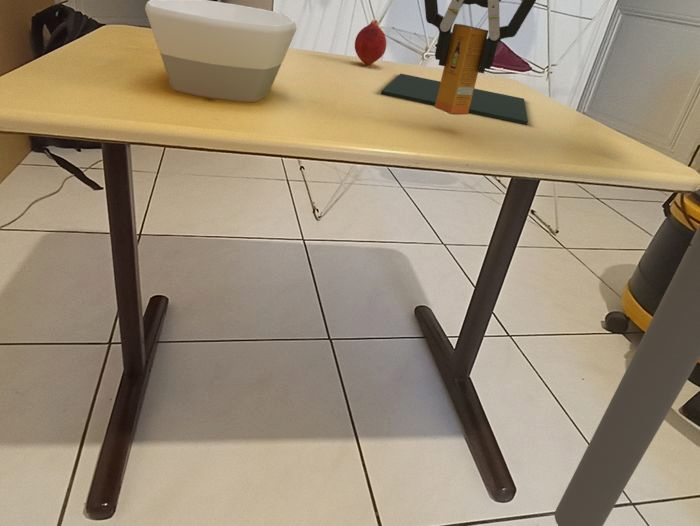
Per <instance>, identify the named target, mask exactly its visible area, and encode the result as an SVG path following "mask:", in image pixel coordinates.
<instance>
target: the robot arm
mask: <svg viewBox="0 0 700 526" xmlns="http://www.w3.org/2000/svg"><path fill="white" fill-rule="evenodd" d="M501 1H502V0H451V1H450V3H449V5H448V7H447V10H446V12H445V14H444V16H443V15H441V14H440V13H439V7H438V6H439V5H438V0H424V11H425V13H424V14H425V20H426V22H427V23H428V24H431V25H433V26H434V27H435V28H436V29H438V38H437V42H436V47H435V52H434V57H435V60H438V66H441V67H444V66H445V62H446V57H447V53H448V49H449V44H450V40H451V35H452V29H453V26H454V24H455V21H456V19H457V17H458V15H459V13H460V11H461V9H462V7H463V5H477V6H479V7H481V8H486V9H487V17H488V18H487V19H488V36H487V39H486V42H485V46H484V51H483V55H482V59H481V63H480V67H479V71H478V74H485V70H486V69H487V70H490V69H491V67H492V66H493V63H494V60H495V55H496V50H497V48H498V44H499V42H500V41H501V40H503V39H508V38H515V36H517V33H518V32H519V30H520V28H521V27H522V25H523V23H524V22H525V21H526V18H527V17H528V15H529V14H530V12H531V10H532V9H533V7H534V5H535V3H536V2H537V0H520V1H521V2H520V4H519V5H518V7H517V9H516V11H514V12H515V13H514V14H513V15H512V18H511V20H510V21H509V23H508V25H504V26H500V23H501V22H500V21H501V20H500V3H501Z"/></svg>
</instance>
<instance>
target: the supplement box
mask: <svg viewBox="0 0 700 526" xmlns="http://www.w3.org/2000/svg"><path fill="white" fill-rule="evenodd" d="M451 32H452V35H451V40H450V44H449V49H448V53H447V57H446V62H445V66H443V70H442V74H441V78H440V82H441V83H440V87H439V91H438V96H437V100H436V104H435V105H434V108H435V109H437V110H440V111H442V112H446V113H447V114H449V115H455V116H457V115H460V116H461V115H465V116H466V115H468V114H469V112H468V111H469V107H470V103H471V99H472V95H473V91H474V89H475V87H476V84H477V79H478V75H479V72H478V71H479V67H480V63H481V59H482V55H483V51H484V46H485V42H486V39H488V36H489V29H488V30H487V29H484V28H480V27H476V26H471V25H467V24H461V23H453V26H452V30H451Z"/></svg>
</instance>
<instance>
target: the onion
mask: <svg viewBox="0 0 700 526" xmlns="http://www.w3.org/2000/svg"><path fill="white" fill-rule="evenodd" d="M378 23H379V21H378V20H377V19H372V20H371V22H370V23H369V24H368V25H366V26H364V27H363V28H362V29H360V30H359V32H358V33H357V34H356V37H355V39H354V51H355V54H356V55H357V57H358V58H359V60H360V61H361V62H362V63H363V64H364V65H365V66H368V67H369V66H371V65H372V64H374V63H376V62H377V61H379V60H380V59H381V58H382V57H383V55H385V52H386V49H387V39H386V35H385V33H384V31H383V30H382V29H381V28H380V27H379V26H378Z"/></svg>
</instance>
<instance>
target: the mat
mask: <svg viewBox="0 0 700 526" xmlns="http://www.w3.org/2000/svg"><path fill="white" fill-rule="evenodd" d="M440 83H441V80H440V81H439V80H435V79H430V78H426V77H420V76H416V75H411V74H410V75H409V74H406V73H399V74H398V75H397V76H396V77H395V78H394V79H393V80H391V82H389V83H388V84H387V85H386V86H384V87H383V89H382V90H381V91H380V94H381V95H383V96H389V97H394V98H399V99H403V100H408V101H412V102H416V103H421V104H426V105H432V106H435V104H436V100H437V96H438V91H439V87H440ZM468 114H474V115H478V116H484V117H488V118H493V119H498V120H502V121H507V122H512V123H517V124H521V125H526V126H527V125H528V124H529V123H528V122H529V119H528V114H527V107H526V102H525V98H524V97H519V96H515V95H508V94H504V93H498V92H493V91H488V90H484V89H478V88H474V91H473V95H472V99H471V103H470V107H469V111H468Z"/></svg>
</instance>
